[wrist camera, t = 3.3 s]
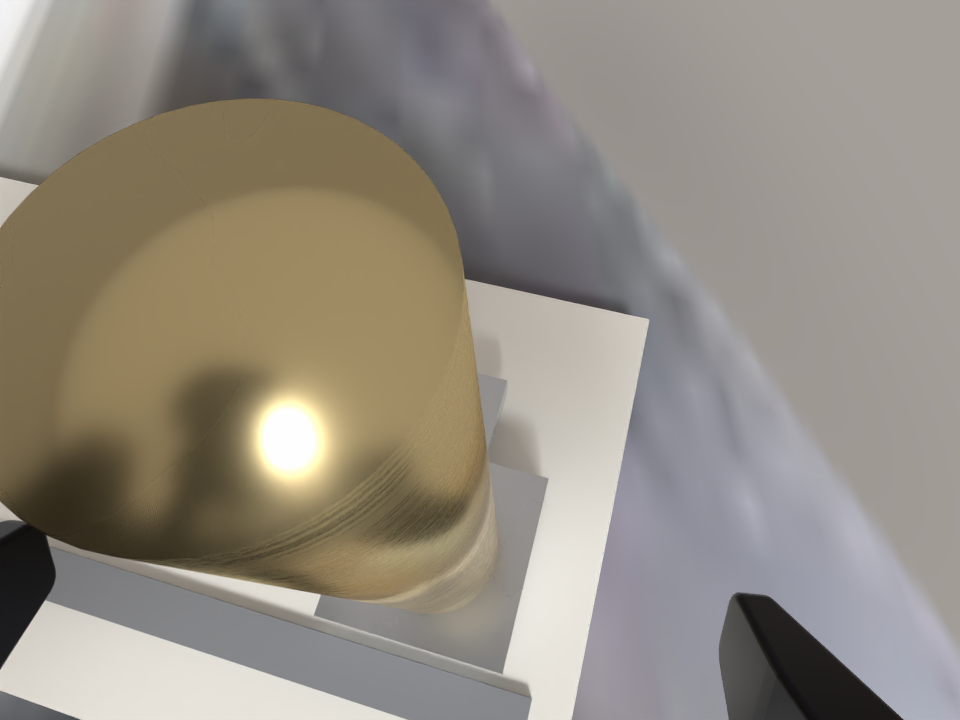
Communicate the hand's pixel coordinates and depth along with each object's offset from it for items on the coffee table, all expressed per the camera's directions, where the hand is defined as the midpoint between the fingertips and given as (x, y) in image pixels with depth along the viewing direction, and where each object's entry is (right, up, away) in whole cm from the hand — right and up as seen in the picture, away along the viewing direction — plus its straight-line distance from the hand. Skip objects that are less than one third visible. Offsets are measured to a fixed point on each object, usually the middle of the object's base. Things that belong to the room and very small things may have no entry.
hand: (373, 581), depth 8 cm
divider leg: (+1, -1, +8) cm, 8 cm away
